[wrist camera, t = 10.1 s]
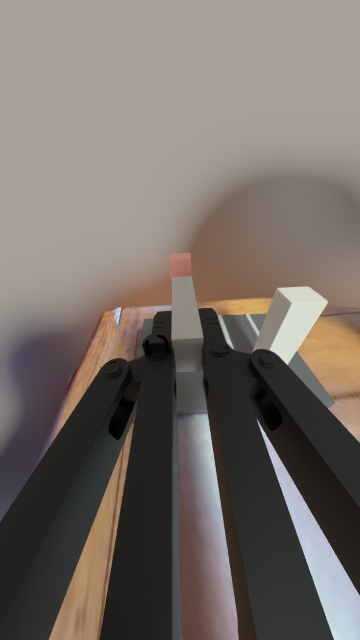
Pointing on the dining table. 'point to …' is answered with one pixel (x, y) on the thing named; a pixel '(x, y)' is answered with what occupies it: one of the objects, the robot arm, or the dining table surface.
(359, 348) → the dining table surface
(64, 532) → the robot arm
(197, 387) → the console
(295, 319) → the cream fader
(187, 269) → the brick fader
